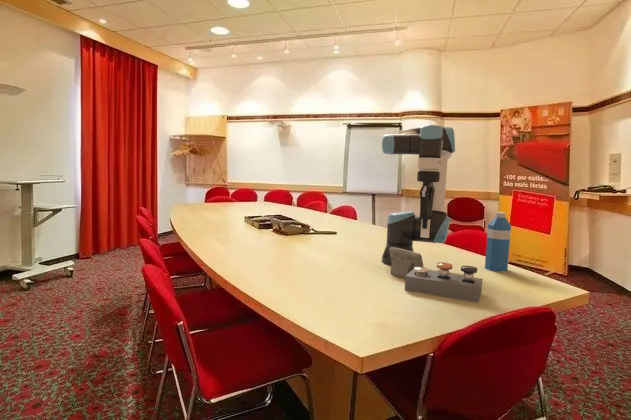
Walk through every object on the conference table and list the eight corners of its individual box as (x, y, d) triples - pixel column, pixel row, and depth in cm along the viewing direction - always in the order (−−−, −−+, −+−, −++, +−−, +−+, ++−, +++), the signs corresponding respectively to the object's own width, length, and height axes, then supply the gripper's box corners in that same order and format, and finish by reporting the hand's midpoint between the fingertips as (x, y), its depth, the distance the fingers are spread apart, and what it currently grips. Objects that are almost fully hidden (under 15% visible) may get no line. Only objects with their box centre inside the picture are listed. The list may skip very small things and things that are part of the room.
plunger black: (459, 283, 129) (460, 268, 128) (461, 279, 134) (462, 264, 133) (475, 285, 127) (476, 270, 126) (477, 281, 131) (478, 267, 131)
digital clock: (427, 280, 148) (429, 253, 147) (408, 282, 144) (410, 254, 143) (401, 269, 163) (403, 245, 161) (384, 271, 159) (385, 246, 158)
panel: (404, 289, 135) (405, 276, 134) (412, 281, 145) (413, 268, 145) (478, 302, 124) (479, 287, 123) (481, 292, 134) (482, 278, 134)
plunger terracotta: (434, 279, 133) (435, 264, 132) (437, 275, 137) (438, 261, 137) (450, 281, 130) (451, 266, 130) (452, 278, 135) (453, 263, 134)
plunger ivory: (411, 283, 137) (412, 268, 136) (414, 279, 141) (415, 265, 141) (426, 285, 134) (426, 271, 134) (429, 281, 139) (429, 267, 138)
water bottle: (510, 272, 163) (515, 214, 160) (487, 270, 164) (491, 213, 162) (504, 267, 172) (509, 212, 169) (482, 265, 173) (486, 211, 171)
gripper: (436, 170, 126) (431, 241, 128) (443, 171, 137) (439, 235, 140) (413, 170, 129) (409, 238, 132) (422, 170, 141) (418, 233, 143)
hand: (424, 237), depth 136 cm, fingers closed
